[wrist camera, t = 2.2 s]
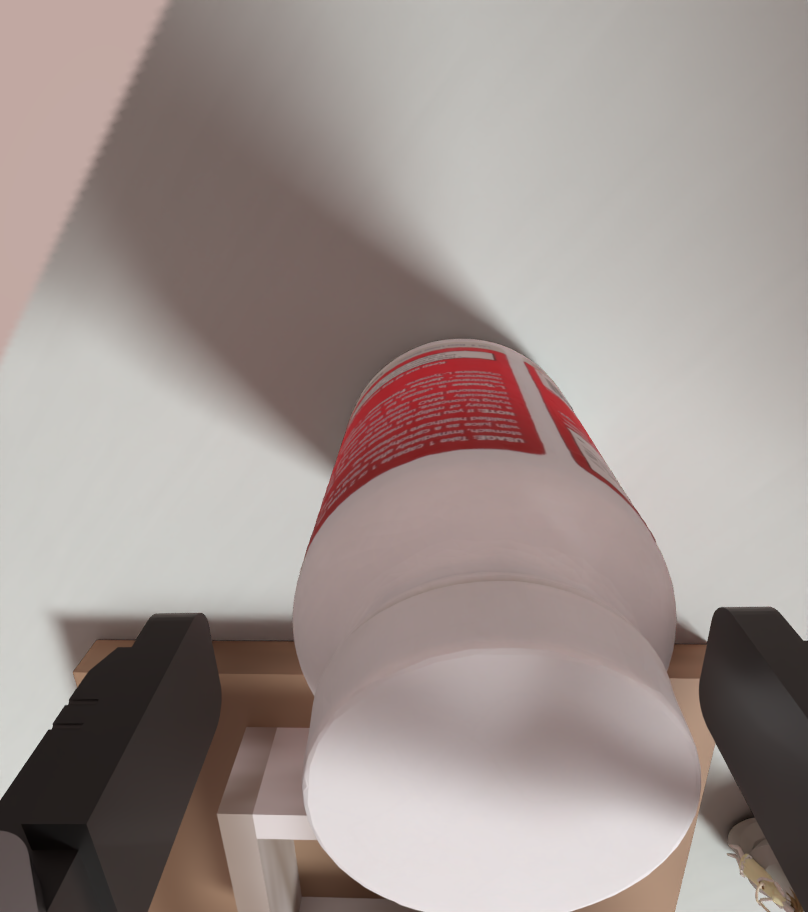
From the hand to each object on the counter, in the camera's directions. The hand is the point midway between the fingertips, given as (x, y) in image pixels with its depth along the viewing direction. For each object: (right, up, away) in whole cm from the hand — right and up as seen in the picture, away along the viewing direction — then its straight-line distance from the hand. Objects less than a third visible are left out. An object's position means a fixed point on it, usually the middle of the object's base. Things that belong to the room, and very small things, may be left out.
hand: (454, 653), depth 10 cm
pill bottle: (+1, +4, +8) cm, 8 cm away
